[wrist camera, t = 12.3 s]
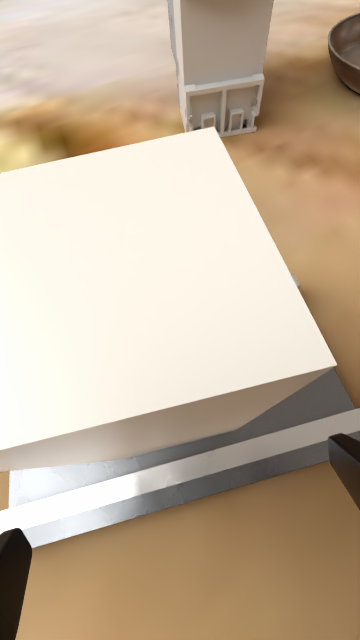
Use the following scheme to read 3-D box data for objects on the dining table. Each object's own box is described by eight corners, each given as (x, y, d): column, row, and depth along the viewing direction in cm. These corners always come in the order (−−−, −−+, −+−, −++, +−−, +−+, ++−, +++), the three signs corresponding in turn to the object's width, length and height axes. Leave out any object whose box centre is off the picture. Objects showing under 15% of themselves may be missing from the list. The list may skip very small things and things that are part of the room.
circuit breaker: (228, 70, 36) (243, -160, 22) (255, 131, 29) (300, -140, 16) (172, 79, 36) (154, -145, 22) (188, 142, 29) (175, -118, 16)
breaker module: (234, 430, 15) (337, 364, 4) (123, 459, 15) (-143, 486, 3) (202, 323, 18) (202, 105, 7) (110, 346, 18) (-54, 160, 7)
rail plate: (365, 446, 15) (389, 445, 13) (19, 548, 14) (-10, 564, 12) (279, 280, 21) (287, 262, 19) (22, 347, 20) (2, 336, 18)
